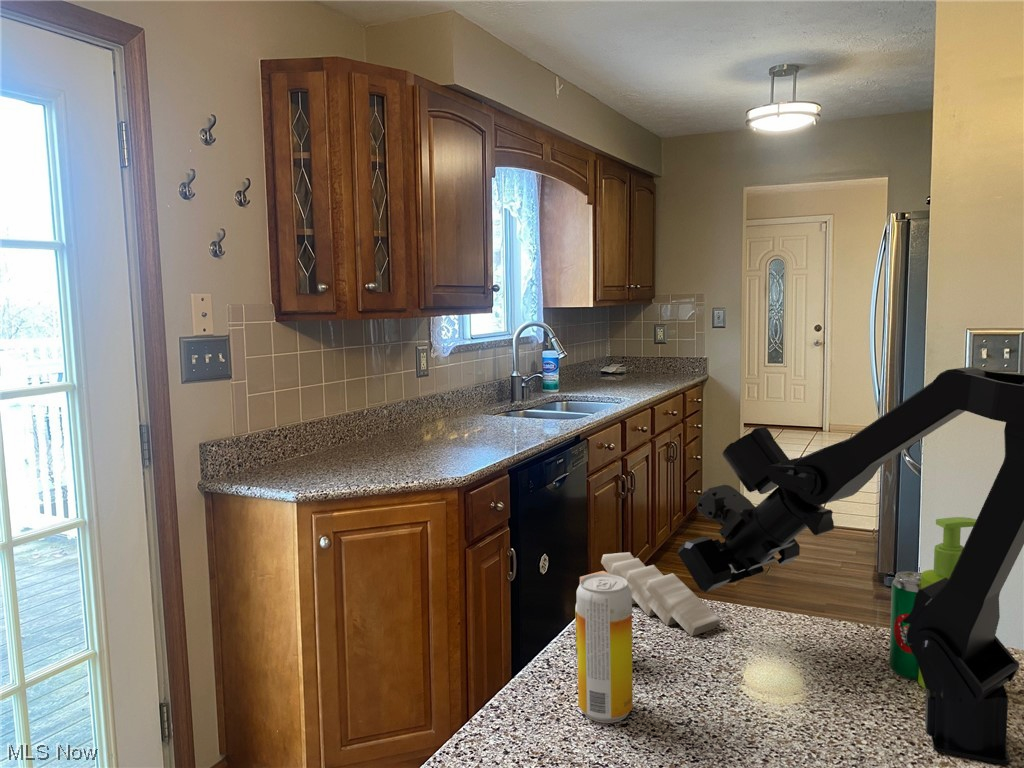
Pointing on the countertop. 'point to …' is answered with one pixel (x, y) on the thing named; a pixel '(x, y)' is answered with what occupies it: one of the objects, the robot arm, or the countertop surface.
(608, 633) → the beer can
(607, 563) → the domino
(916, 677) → the soda can
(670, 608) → the domino
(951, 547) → the soap dispenser
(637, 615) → the countertop surface
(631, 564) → the domino
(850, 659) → the countertop surface
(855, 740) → the countertop surface
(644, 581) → the domino
